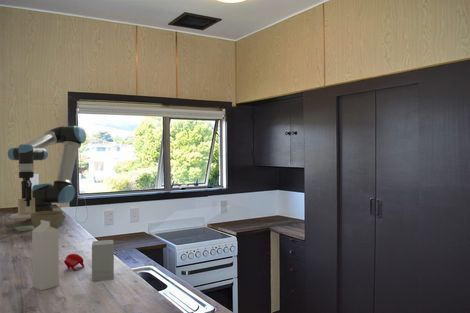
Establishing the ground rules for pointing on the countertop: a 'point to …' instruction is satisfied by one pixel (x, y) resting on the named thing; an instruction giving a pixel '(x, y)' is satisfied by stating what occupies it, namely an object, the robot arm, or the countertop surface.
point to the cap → (73, 261)
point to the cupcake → (62, 217)
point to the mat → (25, 228)
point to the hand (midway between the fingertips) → (26, 211)
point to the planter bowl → (47, 218)
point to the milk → (45, 256)
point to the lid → (23, 210)
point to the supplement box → (102, 260)
